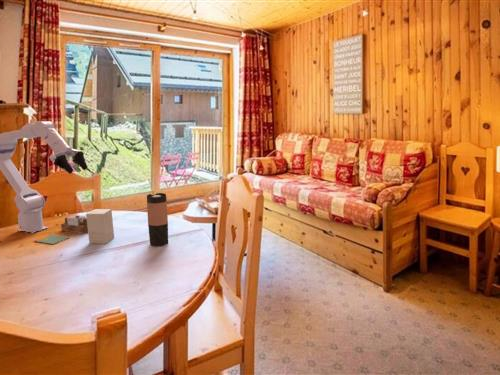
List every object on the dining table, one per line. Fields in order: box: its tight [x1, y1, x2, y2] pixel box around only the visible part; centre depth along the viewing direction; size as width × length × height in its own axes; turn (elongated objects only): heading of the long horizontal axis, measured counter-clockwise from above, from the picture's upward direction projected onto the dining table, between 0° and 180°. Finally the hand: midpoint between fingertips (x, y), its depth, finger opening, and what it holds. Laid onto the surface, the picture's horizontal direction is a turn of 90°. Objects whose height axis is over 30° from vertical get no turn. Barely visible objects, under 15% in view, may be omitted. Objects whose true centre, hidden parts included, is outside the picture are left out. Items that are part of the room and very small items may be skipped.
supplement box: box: [85, 208, 115, 245], centre depth 141 cm, size 7×7×13 cm
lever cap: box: [66, 214, 86, 226], centre depth 153 cm, size 6×4×4 cm
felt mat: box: [36, 234, 70, 245], centre depth 142 cm, size 10×8×1 cm
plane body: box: [60, 217, 88, 234], centre depth 154 cm, size 13×5×6 cm, turn 72°
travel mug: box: [146, 192, 169, 247], centre depth 137 cm, size 8×8×20 cm
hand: (79, 170), depth 141 cm, fingers open, 7 cm apart
